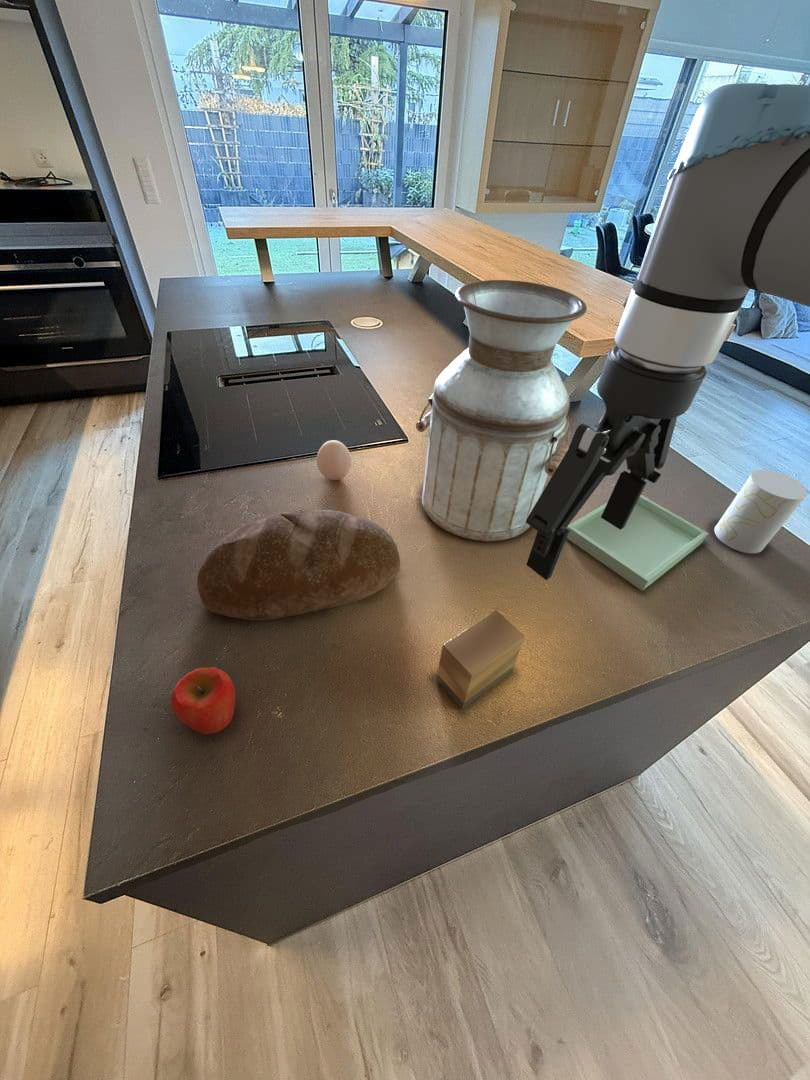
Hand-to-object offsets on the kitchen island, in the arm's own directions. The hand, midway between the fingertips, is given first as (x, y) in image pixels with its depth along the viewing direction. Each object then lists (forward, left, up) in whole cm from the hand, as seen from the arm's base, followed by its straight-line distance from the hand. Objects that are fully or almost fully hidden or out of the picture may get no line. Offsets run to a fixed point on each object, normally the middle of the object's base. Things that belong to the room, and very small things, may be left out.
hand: (577, 545), depth 51 cm
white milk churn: (+27, -15, -19) cm, 37 cm away
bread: (+28, +21, -19) cm, 40 cm away
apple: (+15, +40, -19) cm, 47 cm away
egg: (+49, +3, -19) cm, 53 cm away
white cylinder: (-7, -48, -19) cm, 52 cm away
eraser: (+1, +11, -19) cm, 22 cm away
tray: (+4, -31, -19) cm, 37 cm away
